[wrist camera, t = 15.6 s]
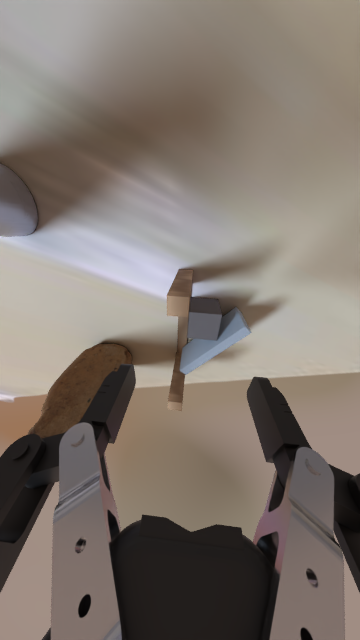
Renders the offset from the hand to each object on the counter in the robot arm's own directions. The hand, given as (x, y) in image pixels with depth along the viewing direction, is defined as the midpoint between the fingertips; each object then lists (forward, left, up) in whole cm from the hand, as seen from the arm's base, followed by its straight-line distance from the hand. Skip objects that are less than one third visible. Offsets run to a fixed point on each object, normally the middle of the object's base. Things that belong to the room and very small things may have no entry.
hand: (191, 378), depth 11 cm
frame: (-2, -8, -20) cm, 22 cm away
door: (+4, -10, -20) cm, 22 cm away
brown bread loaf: (-19, -19, -20) cm, 34 cm away
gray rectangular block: (+2, -5, -20) cm, 21 cm away
